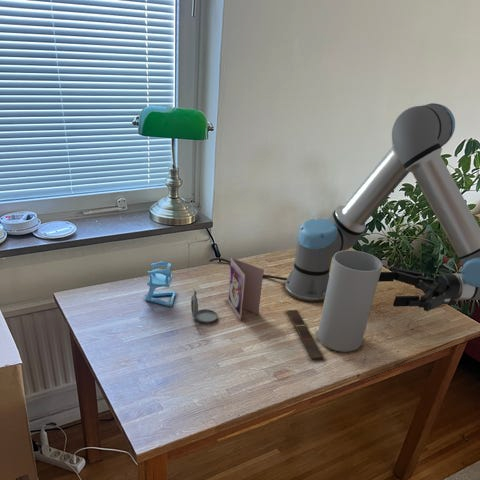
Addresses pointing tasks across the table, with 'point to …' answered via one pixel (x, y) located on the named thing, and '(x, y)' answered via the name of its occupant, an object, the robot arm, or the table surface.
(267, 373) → the table surface
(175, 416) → the table surface
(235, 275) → the greeting card
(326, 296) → the cylinder vase
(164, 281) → the chair
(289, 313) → the ruler
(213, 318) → the pocket watch
